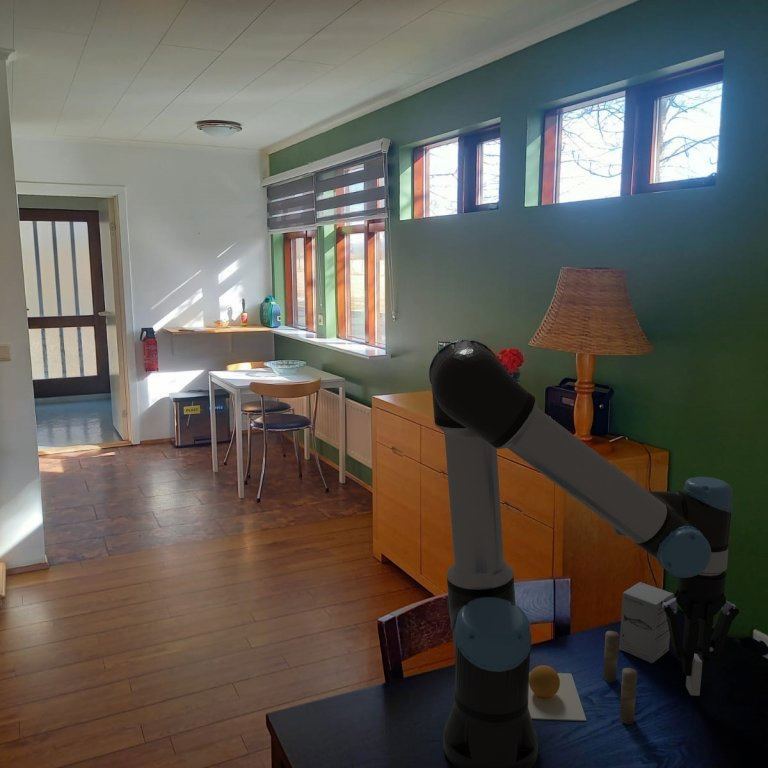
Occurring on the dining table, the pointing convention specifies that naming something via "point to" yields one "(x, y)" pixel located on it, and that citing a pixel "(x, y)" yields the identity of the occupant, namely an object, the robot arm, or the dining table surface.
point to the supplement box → (644, 622)
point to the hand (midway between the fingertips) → (692, 690)
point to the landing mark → (557, 702)
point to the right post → (628, 695)
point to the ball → (544, 681)
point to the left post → (611, 656)
